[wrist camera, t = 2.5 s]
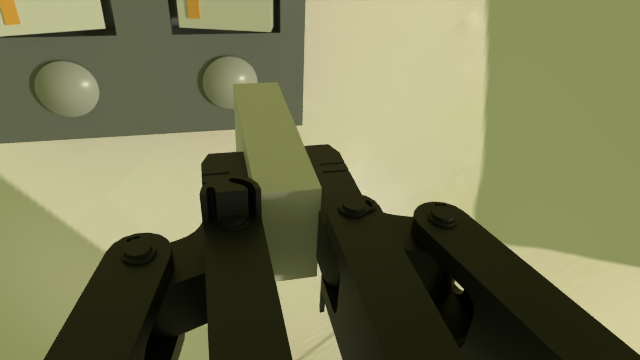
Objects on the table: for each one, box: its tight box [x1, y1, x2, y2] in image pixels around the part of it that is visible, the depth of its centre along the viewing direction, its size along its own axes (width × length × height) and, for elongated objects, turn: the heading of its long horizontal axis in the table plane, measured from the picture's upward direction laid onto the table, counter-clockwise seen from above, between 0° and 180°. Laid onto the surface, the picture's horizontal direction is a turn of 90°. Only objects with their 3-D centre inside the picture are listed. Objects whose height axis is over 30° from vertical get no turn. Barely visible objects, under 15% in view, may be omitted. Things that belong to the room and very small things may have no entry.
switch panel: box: [0, 0, 305, 143], centre depth 31 cm, size 12×20×4 cm, turn 88°
